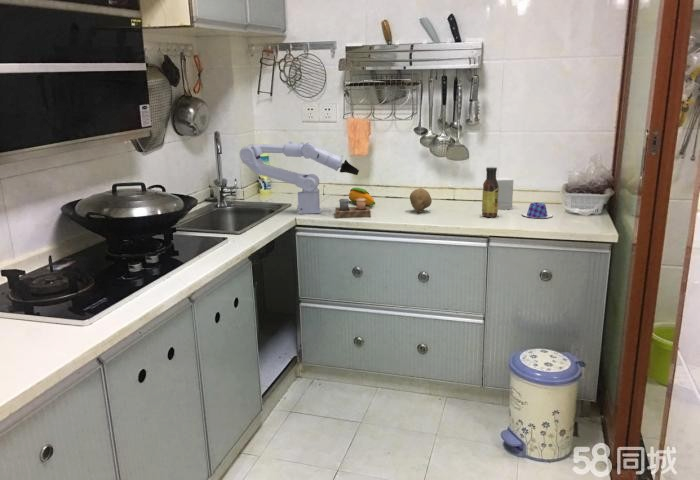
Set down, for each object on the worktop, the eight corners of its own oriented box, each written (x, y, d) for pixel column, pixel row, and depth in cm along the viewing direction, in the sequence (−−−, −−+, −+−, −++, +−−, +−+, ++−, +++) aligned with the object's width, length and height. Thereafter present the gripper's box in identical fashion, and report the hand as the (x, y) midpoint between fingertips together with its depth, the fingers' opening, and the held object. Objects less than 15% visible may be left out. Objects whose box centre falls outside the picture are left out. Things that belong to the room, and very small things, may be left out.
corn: (358, 184, 273) (380, 190, 256) (359, 200, 275) (381, 207, 258) (344, 186, 270) (365, 193, 253) (345, 202, 272) (367, 210, 255)
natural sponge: (426, 208, 255) (427, 186, 252) (434, 213, 246) (435, 189, 244) (406, 210, 252) (407, 187, 250) (414, 214, 244) (414, 191, 241)
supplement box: (512, 209, 251) (514, 179, 248) (494, 209, 251) (496, 180, 248) (508, 205, 258) (509, 177, 255) (491, 205, 258) (492, 177, 255)
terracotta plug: (356, 209, 243) (356, 200, 242) (355, 207, 247) (355, 198, 246) (366, 209, 243) (366, 200, 242) (365, 207, 247) (365, 198, 246)
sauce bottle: (497, 218, 236) (500, 168, 231) (481, 217, 237) (483, 168, 232) (497, 214, 242) (499, 166, 237) (481, 214, 243) (483, 166, 238)
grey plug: (339, 210, 242) (339, 200, 241) (339, 208, 246) (338, 199, 245) (349, 210, 243) (349, 200, 242) (348, 208, 246) (348, 198, 245)
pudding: (559, 217, 236) (560, 204, 235) (535, 221, 231) (536, 208, 230) (537, 211, 247) (538, 199, 245) (515, 215, 242) (516, 202, 240)
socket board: (336, 218, 241) (336, 212, 240) (335, 213, 249) (335, 207, 249) (370, 217, 242) (370, 211, 241) (368, 212, 250) (368, 206, 250)
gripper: (331, 149, 238) (361, 163, 239) (333, 151, 253) (362, 164, 253) (324, 165, 239) (354, 179, 239) (326, 166, 254) (355, 179, 254)
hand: (358, 172), depth 246 cm, fingers open, 7 cm apart
